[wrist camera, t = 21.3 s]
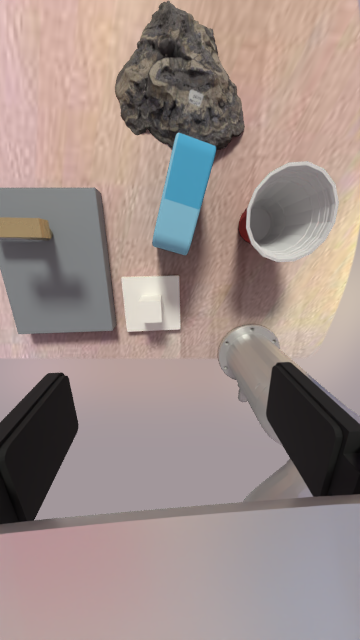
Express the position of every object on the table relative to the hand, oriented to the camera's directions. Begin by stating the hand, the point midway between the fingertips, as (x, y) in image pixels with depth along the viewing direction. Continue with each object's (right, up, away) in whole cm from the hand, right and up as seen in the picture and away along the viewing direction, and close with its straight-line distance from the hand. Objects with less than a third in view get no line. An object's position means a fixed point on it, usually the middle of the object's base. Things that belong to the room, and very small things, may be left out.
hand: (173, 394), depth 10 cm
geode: (+1, +36, +21) cm, 42 cm away
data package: (0, +21, +25) cm, 33 cm away
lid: (-5, +7, +30) cm, 31 cm away
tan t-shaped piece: (-21, +16, +22) cm, 35 cm away
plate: (-20, +13, +26) cm, 35 cm away
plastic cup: (+13, +20, +27) cm, 35 cm away
